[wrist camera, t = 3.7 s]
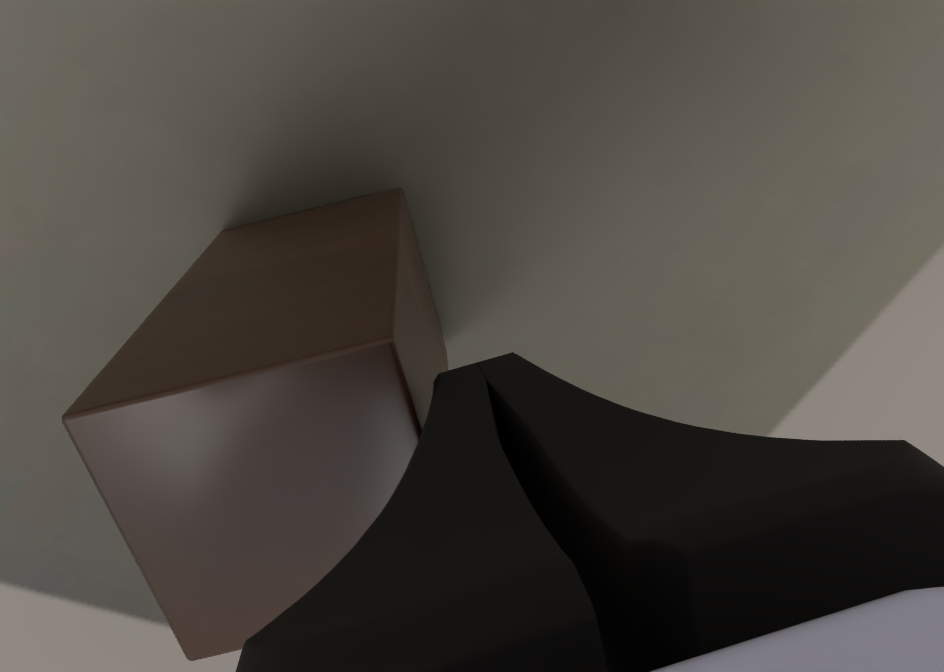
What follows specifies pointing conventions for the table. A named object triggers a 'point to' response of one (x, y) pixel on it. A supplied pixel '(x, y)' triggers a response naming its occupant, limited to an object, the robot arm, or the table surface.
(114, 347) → the table surface
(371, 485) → the brown wooden block
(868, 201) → the table surface
